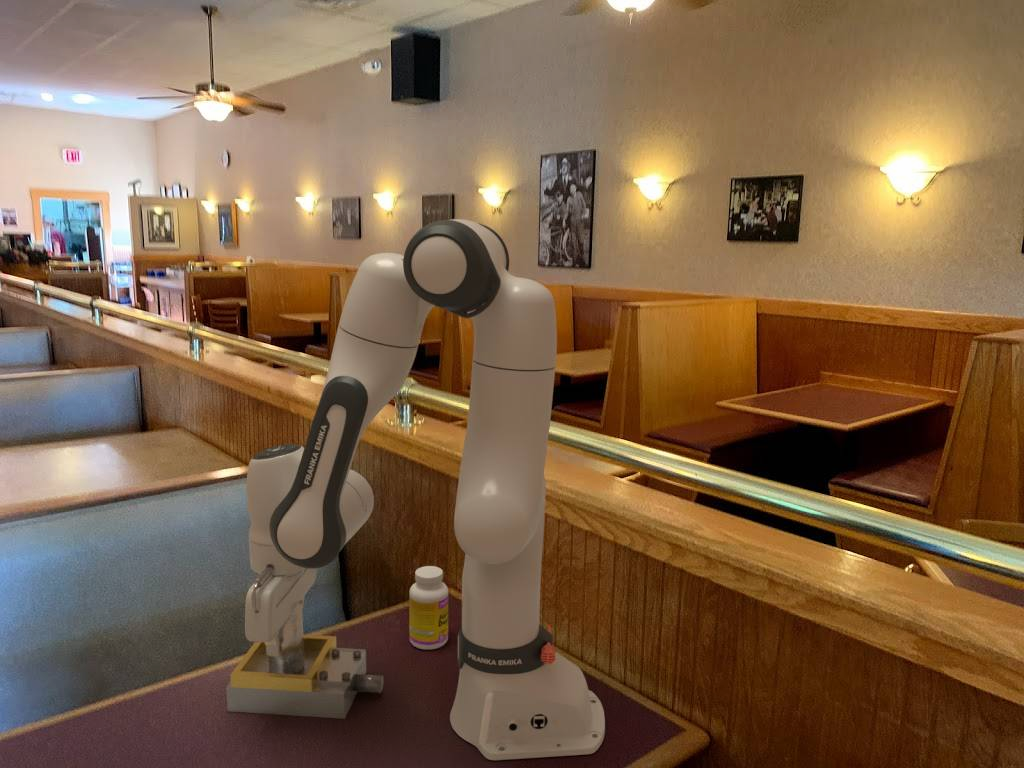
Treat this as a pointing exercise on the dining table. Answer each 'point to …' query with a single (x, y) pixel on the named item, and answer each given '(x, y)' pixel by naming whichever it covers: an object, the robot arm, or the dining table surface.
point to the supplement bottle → (428, 609)
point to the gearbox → (302, 681)
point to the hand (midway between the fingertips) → (285, 637)
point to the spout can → (290, 645)
